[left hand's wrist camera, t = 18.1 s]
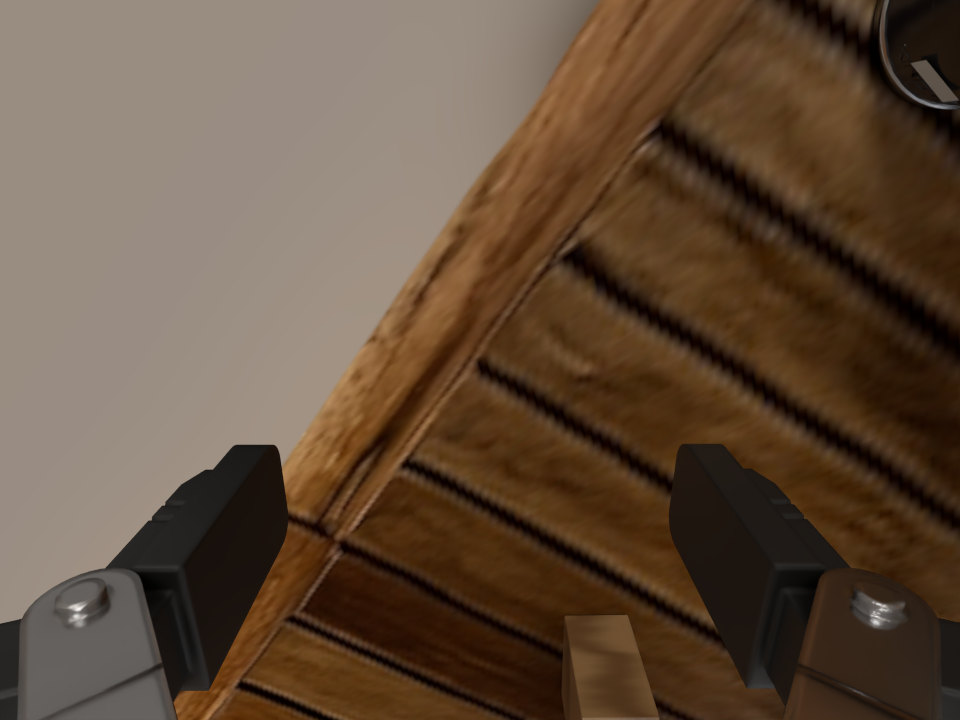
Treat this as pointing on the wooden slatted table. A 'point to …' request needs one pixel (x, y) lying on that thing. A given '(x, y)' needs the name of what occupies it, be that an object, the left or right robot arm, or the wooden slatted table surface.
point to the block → (604, 671)
